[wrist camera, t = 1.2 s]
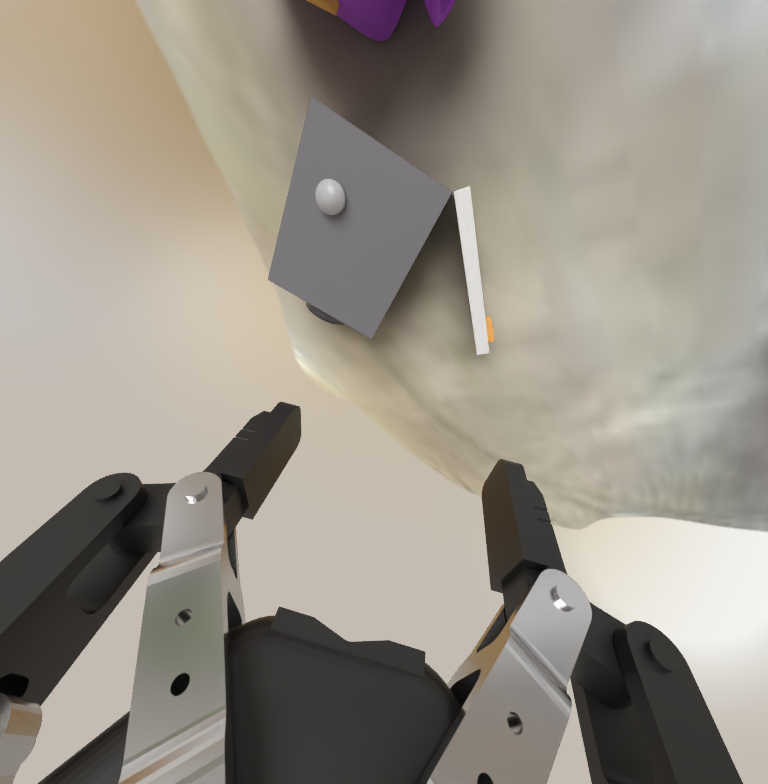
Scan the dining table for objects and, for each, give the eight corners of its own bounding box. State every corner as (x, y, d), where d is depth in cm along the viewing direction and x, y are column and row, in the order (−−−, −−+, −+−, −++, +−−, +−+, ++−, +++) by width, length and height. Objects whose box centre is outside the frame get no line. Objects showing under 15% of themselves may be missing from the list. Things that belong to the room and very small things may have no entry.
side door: (474, 184, 22) (479, 182, 18) (489, 327, 28) (496, 351, 24) (453, 192, 22) (453, 191, 18) (473, 330, 28) (477, 354, 24)
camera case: (452, 192, 23) (452, 191, 17) (379, 325, 30) (364, 352, 25) (342, 118, 21) (306, 93, 16) (295, 276, 29) (261, 294, 24)
